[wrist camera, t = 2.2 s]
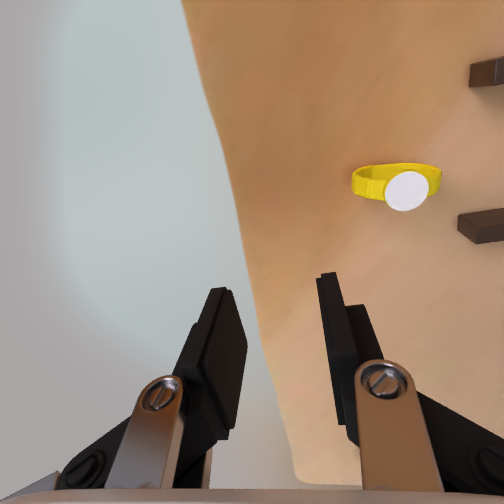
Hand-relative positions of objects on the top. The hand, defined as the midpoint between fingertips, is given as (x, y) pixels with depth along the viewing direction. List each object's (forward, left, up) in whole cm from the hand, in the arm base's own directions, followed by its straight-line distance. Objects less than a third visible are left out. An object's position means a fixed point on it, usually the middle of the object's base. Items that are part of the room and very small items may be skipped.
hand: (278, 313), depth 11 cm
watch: (0, +8, -17) cm, 19 cm away
